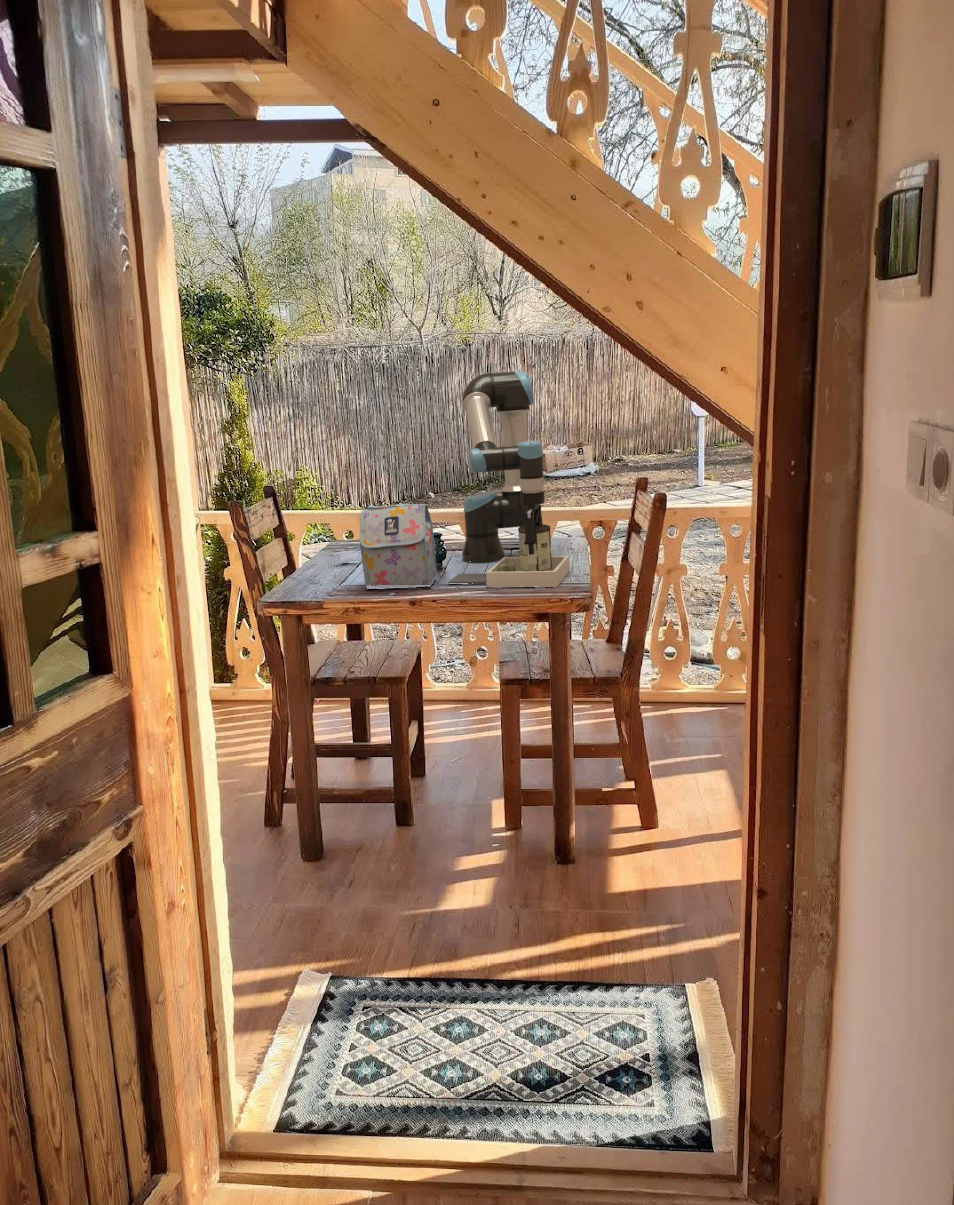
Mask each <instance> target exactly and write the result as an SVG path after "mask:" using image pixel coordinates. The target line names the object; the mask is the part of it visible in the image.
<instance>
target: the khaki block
mask: <svg viewBox="0 0 954 1205" xmlns="http://www.w3.org/2000/svg"><path fill="white" fill-rule="evenodd" d="M500 572H515V563H508V564H502V565H501V566H500Z"/></svg>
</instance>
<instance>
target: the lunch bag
mask: <svg viewBox="0 0 954 1205" xmlns="http://www.w3.org/2000/svg"><path fill="white" fill-rule="evenodd" d="M358 537H359V547H360V548H359V549H360V555H361V562H362V563H361V564H362V570H363V571H362V572H363V576H364V577H363V579H364V584H365V586H366V585H371V586H373V585H374V586H377V585H431V584H432V583H433V582H434V578H439V576H438V571H437V560H436V547H435V539H434V527H433V522H432V518H431V514H430V510H429V506H428V504H426V503H416V504H415V503H409V504H407V503H404V504H403V503H402V504H401V503H400V504H394V505H382V506H377V505H374V504H373V505H369V506H368V508H366V509H362V510H360V513H359V536H358ZM434 583H435V582H434ZM434 583H433V584H434Z"/></svg>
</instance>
